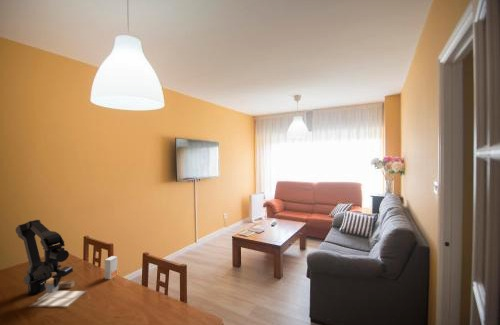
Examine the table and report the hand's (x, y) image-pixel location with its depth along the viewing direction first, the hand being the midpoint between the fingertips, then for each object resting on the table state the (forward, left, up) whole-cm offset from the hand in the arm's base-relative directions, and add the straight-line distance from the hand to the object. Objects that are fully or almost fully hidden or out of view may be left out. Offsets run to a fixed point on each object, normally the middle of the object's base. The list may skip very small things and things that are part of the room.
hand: (52, 286), depth 123 cm
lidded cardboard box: (0, 0, -2) cm, 2 cm away
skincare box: (+17, +23, -7) cm, 29 cm away
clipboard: (+4, 0, -6) cm, 8 cm away
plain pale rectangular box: (-2, +11, -6) cm, 13 cm away
